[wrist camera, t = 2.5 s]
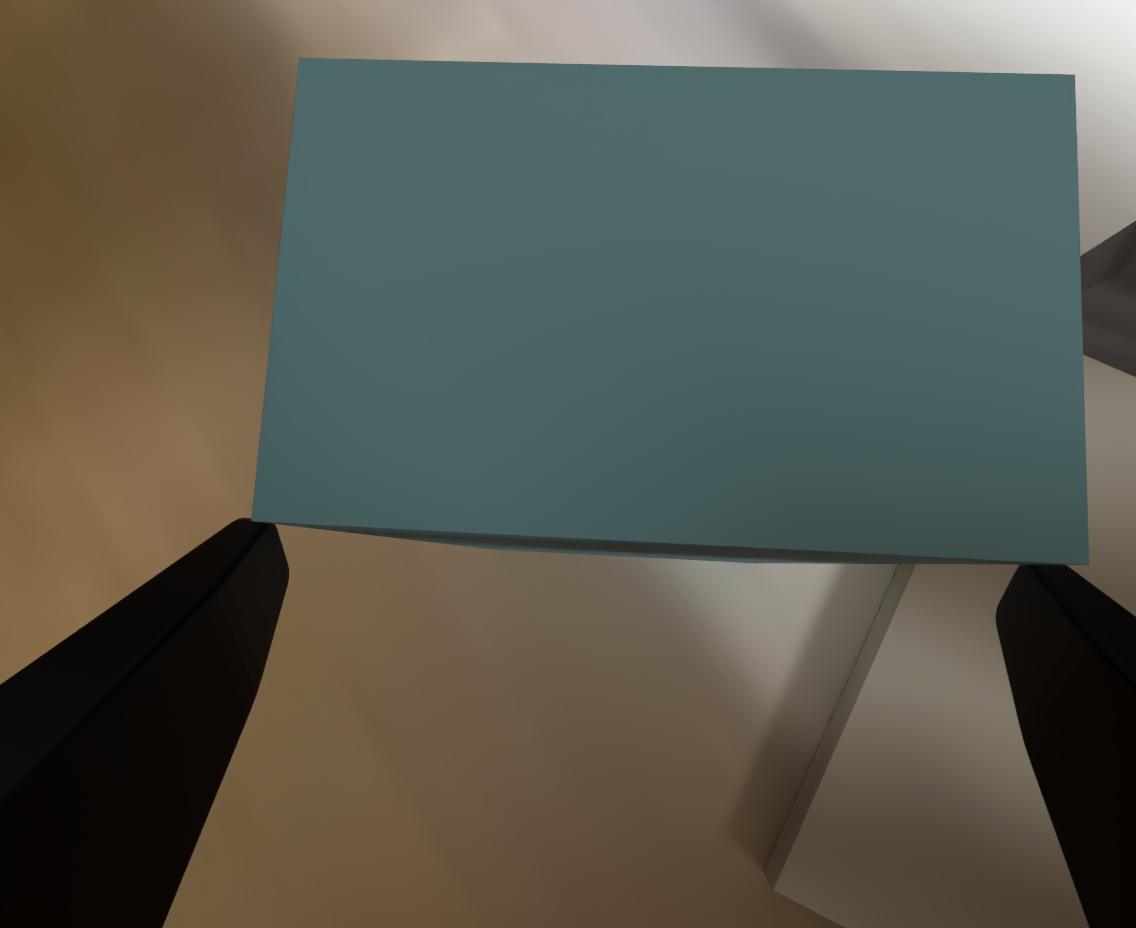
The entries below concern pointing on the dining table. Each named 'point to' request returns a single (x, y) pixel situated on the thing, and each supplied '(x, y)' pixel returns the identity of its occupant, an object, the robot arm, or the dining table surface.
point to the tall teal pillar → (681, 313)
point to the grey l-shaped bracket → (963, 705)
